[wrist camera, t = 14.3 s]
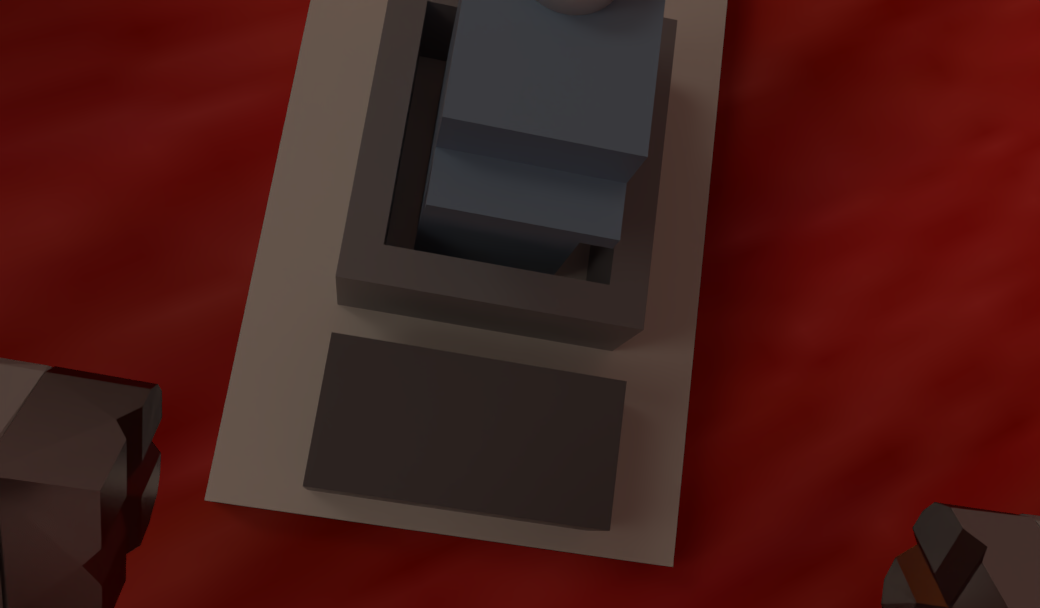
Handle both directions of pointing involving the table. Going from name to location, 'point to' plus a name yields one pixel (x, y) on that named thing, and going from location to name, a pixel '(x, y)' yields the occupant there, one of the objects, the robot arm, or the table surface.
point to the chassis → (465, 315)
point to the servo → (539, 128)
